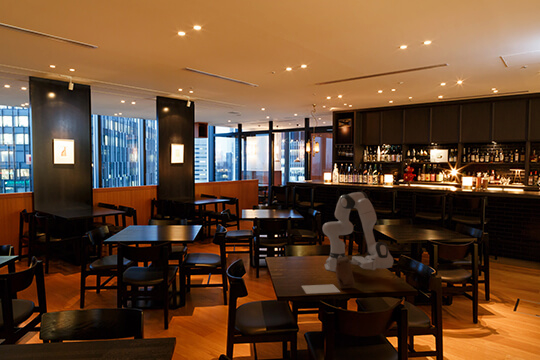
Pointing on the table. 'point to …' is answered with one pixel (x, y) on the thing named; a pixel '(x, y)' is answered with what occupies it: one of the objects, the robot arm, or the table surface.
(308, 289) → the mat
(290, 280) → the table surface
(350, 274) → the block
